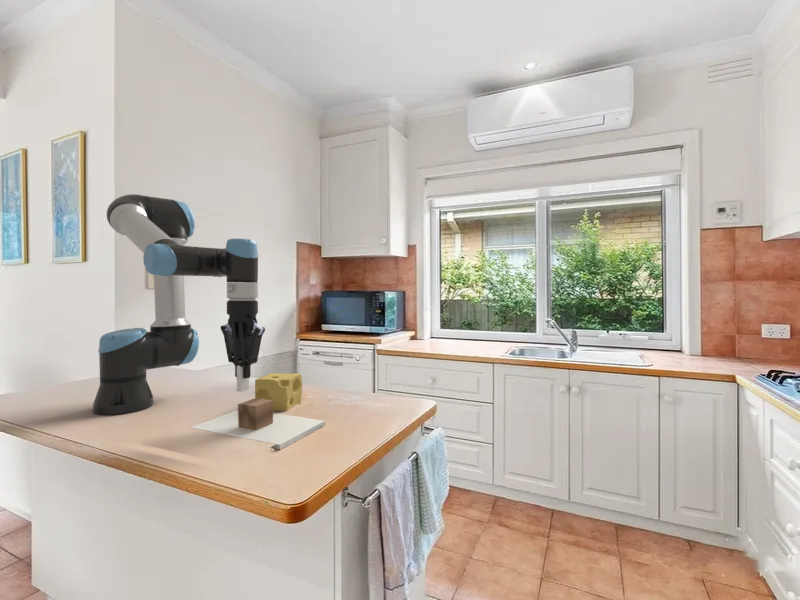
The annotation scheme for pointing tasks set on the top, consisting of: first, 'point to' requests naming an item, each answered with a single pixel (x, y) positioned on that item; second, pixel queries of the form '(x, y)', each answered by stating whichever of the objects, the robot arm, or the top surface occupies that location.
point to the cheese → (280, 390)
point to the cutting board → (265, 428)
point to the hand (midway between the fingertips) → (242, 390)
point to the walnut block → (255, 413)
